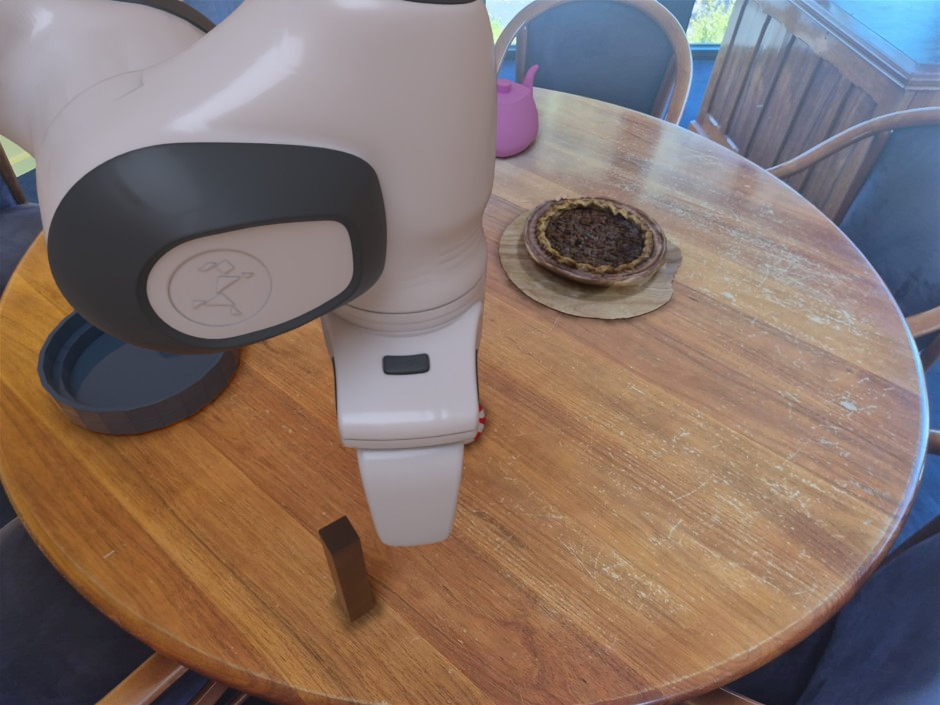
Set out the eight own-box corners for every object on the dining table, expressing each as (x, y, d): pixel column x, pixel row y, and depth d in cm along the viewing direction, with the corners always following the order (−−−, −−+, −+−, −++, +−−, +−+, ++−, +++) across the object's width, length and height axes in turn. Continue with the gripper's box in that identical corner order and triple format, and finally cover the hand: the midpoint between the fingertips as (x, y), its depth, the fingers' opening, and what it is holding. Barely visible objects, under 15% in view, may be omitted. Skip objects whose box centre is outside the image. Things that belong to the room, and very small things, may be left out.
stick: (351, 622, 57) (331, 555, 46) (339, 600, 58) (317, 530, 48) (374, 607, 58) (360, 538, 47) (362, 586, 59) (345, 514, 49)
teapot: (502, 175, 110) (507, 110, 101) (442, 150, 115) (442, 87, 106) (559, 132, 121) (568, 71, 112) (502, 111, 126) (507, 51, 117)
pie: (649, 345, 82) (659, 318, 78) (466, 279, 90) (468, 251, 86) (698, 235, 99) (708, 208, 96) (541, 187, 107) (544, 161, 104)
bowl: (79, 469, 66) (59, 443, 63) (40, 348, 78) (21, 321, 74) (268, 385, 75) (259, 358, 72) (207, 288, 87) (198, 261, 83)
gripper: (346, 192, 40) (364, 342, 50) (336, 460, 26) (363, 593, 36) (444, 189, 41) (442, 338, 51) (484, 450, 27) (471, 583, 37)
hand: (409, 446), depth 43 cm, fingers open, 8 cm apart
